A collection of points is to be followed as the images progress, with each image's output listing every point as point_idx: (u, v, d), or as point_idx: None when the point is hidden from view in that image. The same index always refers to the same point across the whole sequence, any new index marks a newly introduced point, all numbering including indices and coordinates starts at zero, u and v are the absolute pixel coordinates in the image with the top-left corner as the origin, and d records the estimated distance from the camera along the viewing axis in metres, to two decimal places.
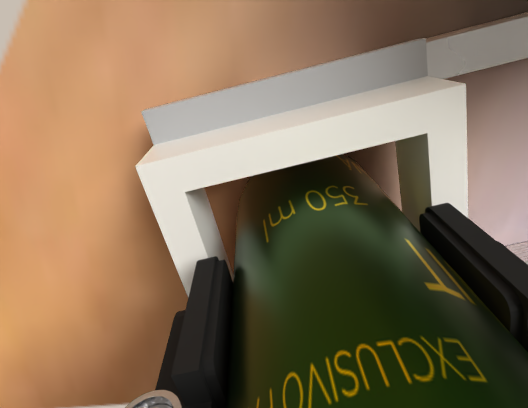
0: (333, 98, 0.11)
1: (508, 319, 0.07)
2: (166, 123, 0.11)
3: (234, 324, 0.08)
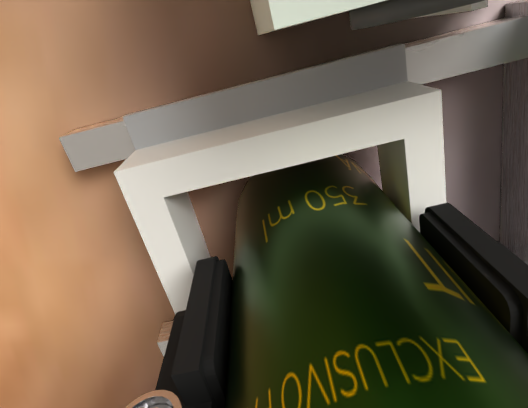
0: (314, 103, 0.11)
1: (508, 319, 0.07)
2: (147, 128, 0.11)
3: (233, 324, 0.08)
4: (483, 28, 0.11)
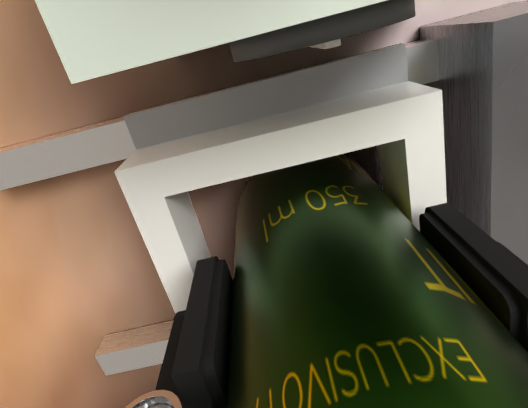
0: (314, 103, 0.11)
1: (508, 319, 0.07)
2: (148, 127, 0.11)
3: (234, 324, 0.08)
4: None
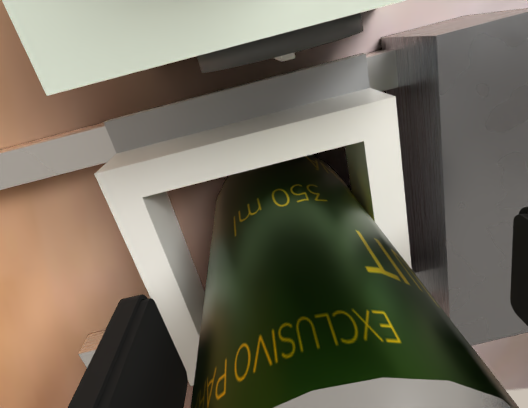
0: (284, 109, 0.12)
1: None
2: (127, 132, 0.12)
3: (203, 310, 0.08)
4: None
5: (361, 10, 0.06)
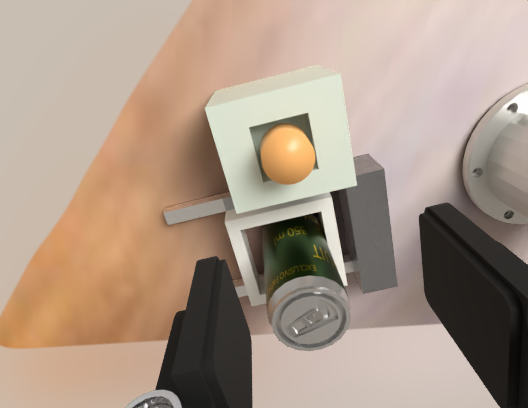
0: None
1: (508, 319, 0.07)
2: (231, 203, 0.31)
3: (266, 268, 0.27)
4: None
5: None
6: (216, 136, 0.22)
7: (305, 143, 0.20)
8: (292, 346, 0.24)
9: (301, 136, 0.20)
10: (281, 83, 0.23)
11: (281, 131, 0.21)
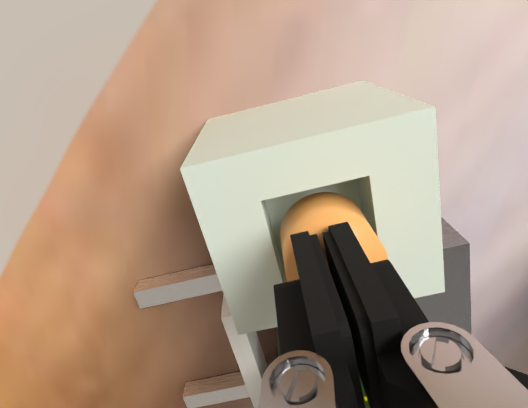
0: None
1: (361, 340, 0.07)
2: None
3: None
4: None
5: None
6: (202, 216, 0.12)
7: (371, 243, 0.10)
8: None
9: (365, 232, 0.10)
10: (317, 118, 0.13)
11: (324, 218, 0.11)
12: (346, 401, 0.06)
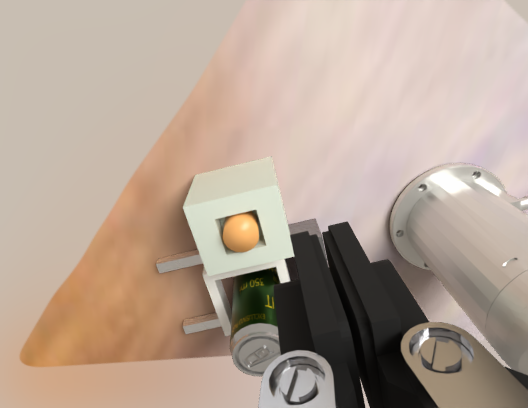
0: None
1: (361, 340, 0.07)
2: None
3: (232, 312, 0.36)
4: None
5: None
6: (191, 225, 0.31)
7: (251, 226, 0.31)
8: (248, 373, 0.33)
9: (248, 222, 0.31)
10: (239, 184, 0.32)
11: (236, 218, 0.31)
12: (346, 401, 0.06)
